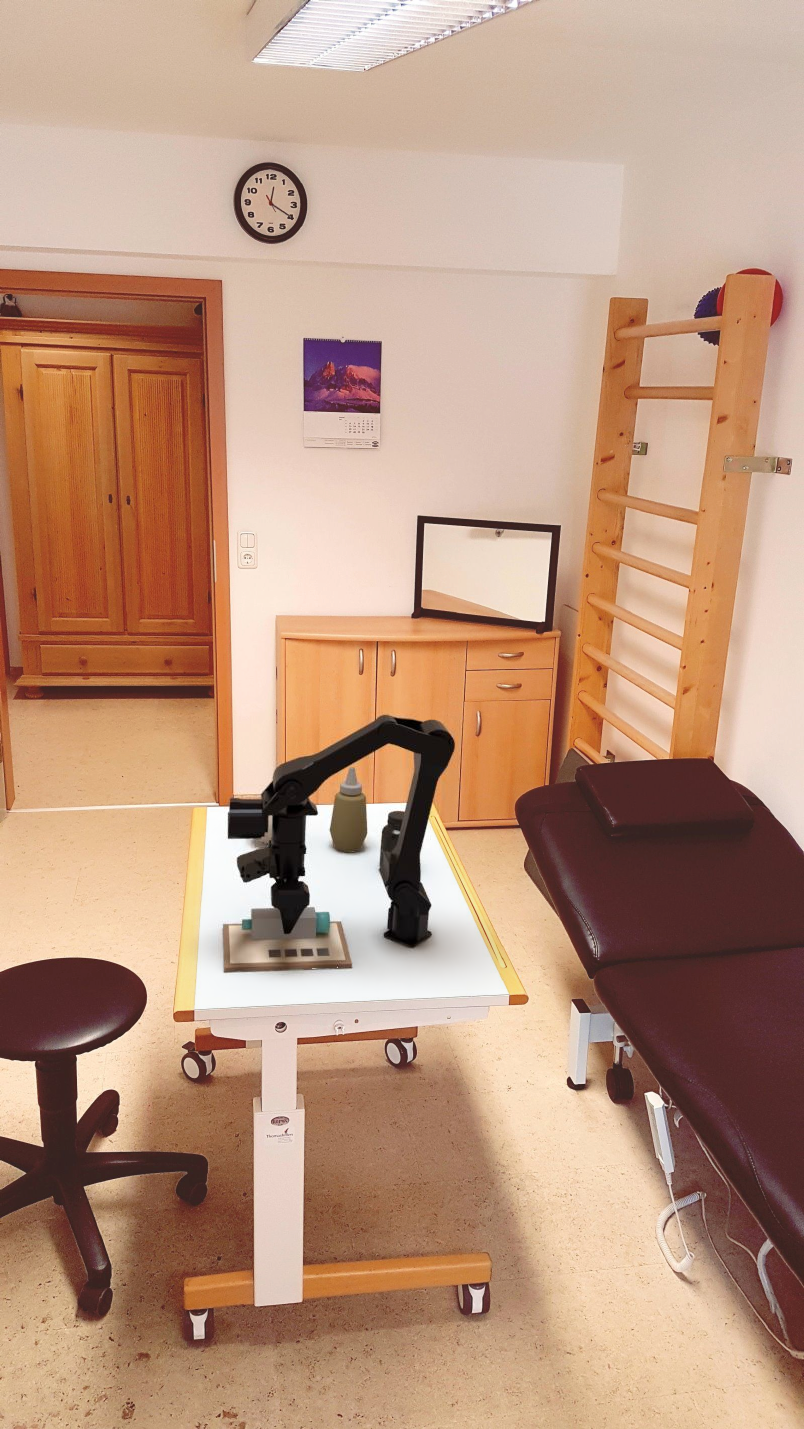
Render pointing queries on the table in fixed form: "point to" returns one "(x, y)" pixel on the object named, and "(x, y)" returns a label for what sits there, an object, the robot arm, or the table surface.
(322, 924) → the marker
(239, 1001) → the table surface
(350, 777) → the squeeze bottle
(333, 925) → the brown framed board
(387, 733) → the robot arm
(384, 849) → the supplement bottle
